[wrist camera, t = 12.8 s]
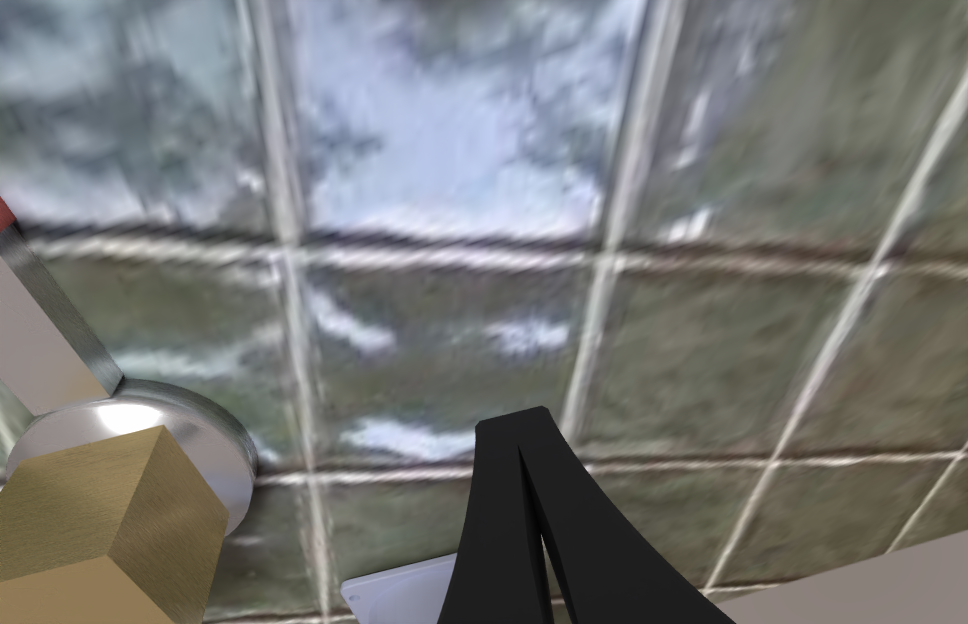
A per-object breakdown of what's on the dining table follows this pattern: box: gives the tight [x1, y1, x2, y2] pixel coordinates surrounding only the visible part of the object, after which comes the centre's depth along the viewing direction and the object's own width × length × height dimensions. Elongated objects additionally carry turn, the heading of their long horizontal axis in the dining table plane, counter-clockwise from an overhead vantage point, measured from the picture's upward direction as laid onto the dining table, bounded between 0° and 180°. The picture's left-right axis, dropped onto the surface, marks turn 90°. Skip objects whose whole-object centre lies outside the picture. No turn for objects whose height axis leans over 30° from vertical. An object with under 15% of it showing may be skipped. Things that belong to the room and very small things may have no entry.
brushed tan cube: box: [0, 424, 230, 624], centre depth 20 cm, size 5×5×5 cm
